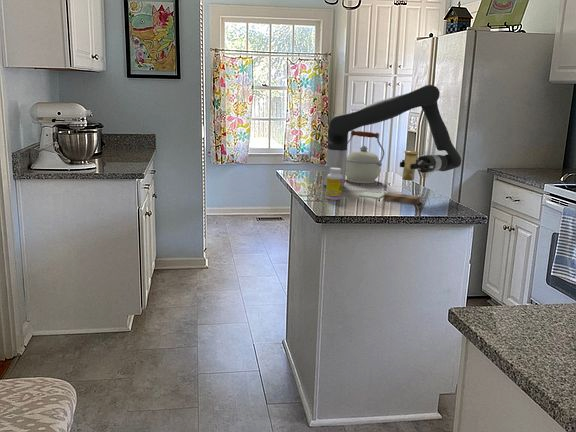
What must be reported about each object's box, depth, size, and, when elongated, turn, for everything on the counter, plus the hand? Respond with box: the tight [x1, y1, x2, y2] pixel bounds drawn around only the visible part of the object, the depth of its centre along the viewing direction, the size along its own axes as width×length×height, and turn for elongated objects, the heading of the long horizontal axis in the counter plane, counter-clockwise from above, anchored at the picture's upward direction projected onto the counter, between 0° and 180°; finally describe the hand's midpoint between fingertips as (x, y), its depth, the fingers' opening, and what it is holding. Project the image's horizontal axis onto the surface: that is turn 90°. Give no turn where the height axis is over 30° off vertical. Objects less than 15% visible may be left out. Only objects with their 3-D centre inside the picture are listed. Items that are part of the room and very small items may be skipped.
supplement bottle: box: [325, 168, 343, 201], centre depth 234 cm, size 7×7×13 cm
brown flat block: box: [382, 191, 421, 206], centre depth 238 cm, size 14×7×2 cm, turn 66°
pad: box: [358, 191, 386, 200], centre depth 246 cm, size 9×9×1 cm
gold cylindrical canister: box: [401, 150, 419, 182], centre depth 234 cm, size 6×6×12 cm
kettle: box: [345, 129, 385, 184], centre depth 281 cm, size 25×18×25 cm
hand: (406, 165), depth 232 cm, fingers closed on gold cylindrical canister, 4 cm apart
